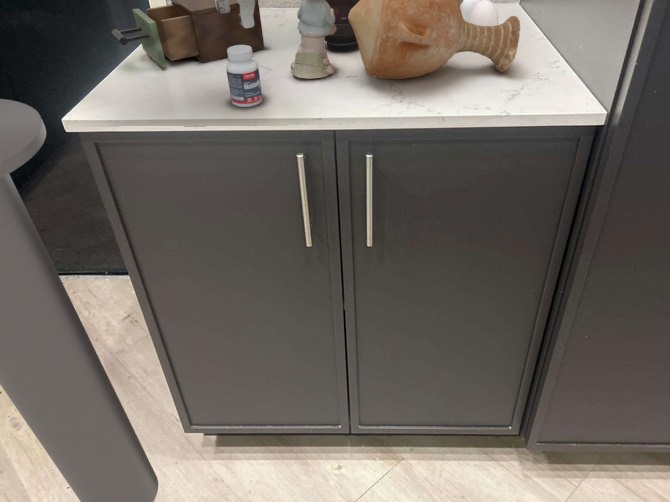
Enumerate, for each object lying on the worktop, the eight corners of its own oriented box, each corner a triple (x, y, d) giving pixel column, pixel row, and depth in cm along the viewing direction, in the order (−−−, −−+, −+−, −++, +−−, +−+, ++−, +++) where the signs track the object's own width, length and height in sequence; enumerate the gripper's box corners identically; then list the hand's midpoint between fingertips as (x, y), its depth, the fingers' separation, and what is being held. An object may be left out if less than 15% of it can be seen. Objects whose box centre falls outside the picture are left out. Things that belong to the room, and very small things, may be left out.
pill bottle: (249, 110, 95) (240, 56, 89) (225, 104, 97) (215, 51, 92) (269, 99, 99) (262, 46, 93) (246, 93, 101) (237, 41, 95)
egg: (462, 36, 122) (465, -2, 117) (486, 32, 123) (490, -6, 119) (476, 45, 117) (480, 5, 113) (502, 41, 119) (506, 2, 114)
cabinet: (202, 63, 113) (191, 11, 106) (181, 45, 121) (170, -4, 115) (264, 49, 118) (258, -1, 112) (240, 33, 126) (233, -14, 120)
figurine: (332, 82, 104) (325, -41, 91) (287, 80, 105) (273, -42, 92) (341, 64, 110) (335, -53, 98) (299, 63, 111) (287, -53, 99)
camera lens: (324, 54, 115) (318, -28, 105) (322, 41, 121) (317, -38, 111) (364, 52, 115) (362, -30, 106) (360, 39, 122) (358, -39, 112)
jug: (341, -11, 108) (491, 0, 113) (341, 91, 109) (491, 97, 114) (356, -69, 88) (538, -53, 93) (357, 55, 89) (536, 65, 94)
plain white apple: (476, 28, 126) (480, -12, 121) (446, 24, 128) (448, -15, 123) (485, 19, 131) (489, -19, 126) (456, 16, 133) (459, -22, 128)
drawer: (131, 72, 107) (118, 29, 102) (115, 55, 114) (103, 14, 109) (221, 52, 114) (214, 11, 109) (201, 38, 122) (193, -2, 117)
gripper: (172, -91, 86) (193, 7, 95) (223, -72, 73) (242, 40, 82) (211, -95, 88) (228, 1, 97) (268, -78, 75) (281, 31, 84)
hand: (235, 19), depth 89 cm, fingers open, 8 cm apart
